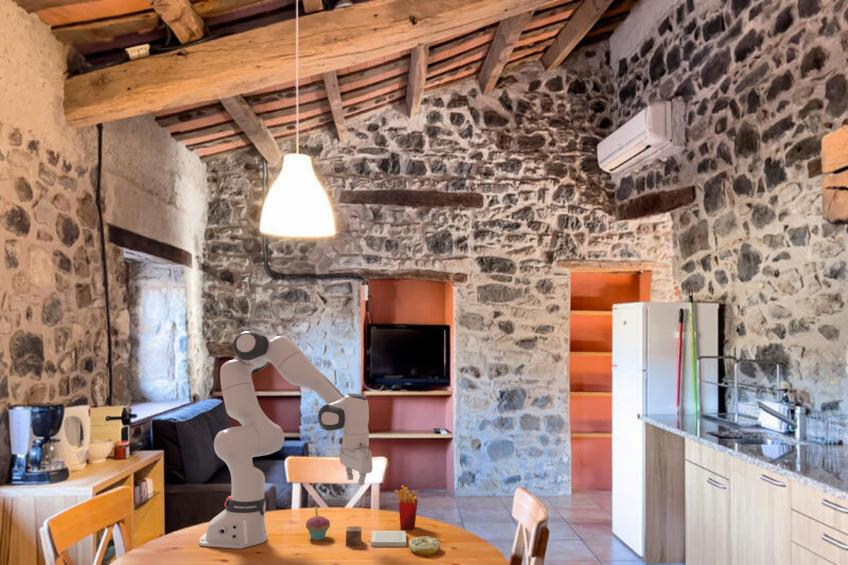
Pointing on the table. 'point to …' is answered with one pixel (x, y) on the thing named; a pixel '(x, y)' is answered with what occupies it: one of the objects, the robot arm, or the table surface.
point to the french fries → (407, 508)
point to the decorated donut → (424, 545)
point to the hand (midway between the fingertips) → (355, 482)
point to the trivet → (388, 538)
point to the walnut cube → (353, 536)
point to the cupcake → (317, 526)
